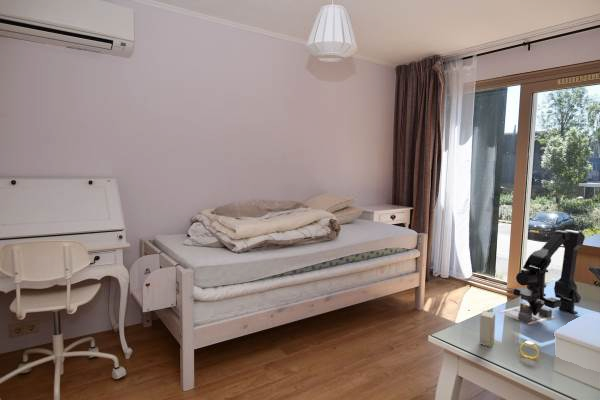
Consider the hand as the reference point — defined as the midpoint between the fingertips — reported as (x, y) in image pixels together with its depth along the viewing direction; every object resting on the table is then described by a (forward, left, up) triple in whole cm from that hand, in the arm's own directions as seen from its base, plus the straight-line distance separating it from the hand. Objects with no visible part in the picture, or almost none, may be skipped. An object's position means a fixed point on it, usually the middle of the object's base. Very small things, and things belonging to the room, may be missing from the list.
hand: (534, 315), depth 168 cm
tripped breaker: (0, -4, -1) cm, 4 cm away
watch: (+33, +20, -3) cm, 39 cm away
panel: (0, -4, -2) cm, 5 cm away
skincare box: (+38, +6, -2) cm, 39 cm away
